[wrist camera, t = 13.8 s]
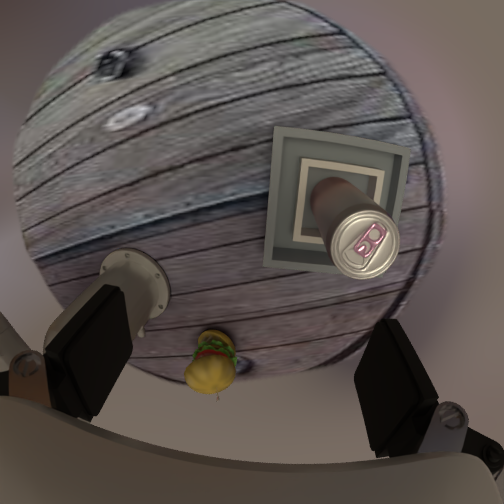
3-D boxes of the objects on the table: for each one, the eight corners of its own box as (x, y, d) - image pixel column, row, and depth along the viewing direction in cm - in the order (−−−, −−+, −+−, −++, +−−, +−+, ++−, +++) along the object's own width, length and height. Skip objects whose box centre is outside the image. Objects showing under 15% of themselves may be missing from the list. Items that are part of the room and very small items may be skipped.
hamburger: (202, 317, 44) (180, 371, 33) (246, 329, 44) (235, 387, 33) (195, 349, 47) (176, 402, 36) (235, 361, 47) (224, 416, 36)
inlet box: (378, 261, 37) (389, 278, 33) (264, 249, 38) (262, 266, 34) (399, 146, 31) (416, 149, 26) (275, 127, 32) (274, 126, 27)
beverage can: (365, 195, 33) (416, 238, 19) (337, 232, 35) (368, 294, 21) (328, 166, 32) (362, 190, 18) (299, 205, 34) (311, 255, 21)
